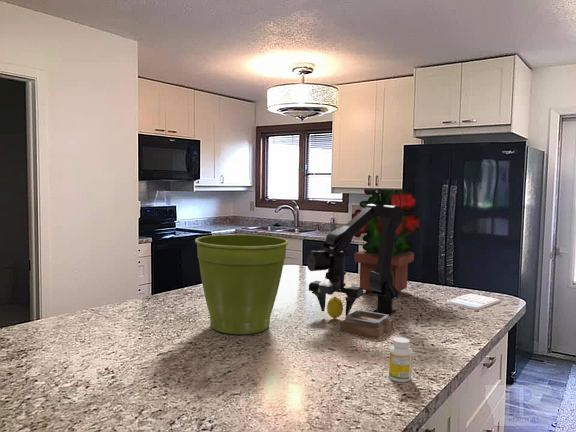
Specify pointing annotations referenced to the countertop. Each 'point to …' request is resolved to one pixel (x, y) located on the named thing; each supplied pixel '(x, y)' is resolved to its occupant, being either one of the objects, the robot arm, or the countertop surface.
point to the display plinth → (367, 324)
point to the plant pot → (240, 279)
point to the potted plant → (373, 237)
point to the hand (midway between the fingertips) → (334, 313)
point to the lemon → (335, 307)
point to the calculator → (473, 301)
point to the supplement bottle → (400, 360)
